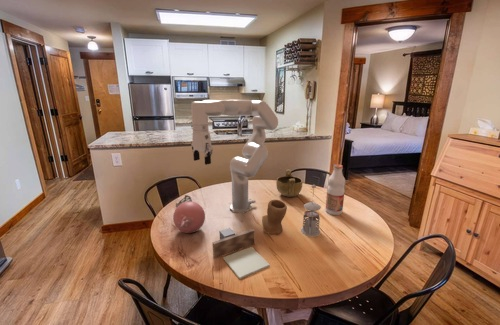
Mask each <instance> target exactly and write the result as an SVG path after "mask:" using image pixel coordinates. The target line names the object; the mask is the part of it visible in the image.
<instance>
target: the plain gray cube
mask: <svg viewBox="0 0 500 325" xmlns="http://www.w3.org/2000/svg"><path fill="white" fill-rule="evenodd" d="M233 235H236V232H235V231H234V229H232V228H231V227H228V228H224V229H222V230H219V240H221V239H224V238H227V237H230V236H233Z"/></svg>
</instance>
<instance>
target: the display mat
mask: <svg viewBox="0 0 500 325" xmlns="http://www.w3.org/2000/svg"><path fill="white" fill-rule="evenodd" d="M222 260H224V261H225V263H226V264H227V265H228V267H229V268H230V269H231V271H232V272H233V273H234V274H235V276H236V277H237V278H238V279H239V280H242V279H243V278H247V277H248V276H250V275H253V274H256V273H258V272H259V271H263V270H265V269H267V268H269V267H270V265H271V264H270V263H269V262H268V261H267V260H266V259H265V258H264V257H263V256H262V255H261V254H260V253H259V252H257V251H256V250H255V249H254V248H253V247H252V246H249V247H246V248H245V249H244V248H243V249H241V250H239V251H237V252H236V251H235V252H233V253H232V254H231V253H230V254H229V255H228V254H227V255H226V256H225V255H224V256H223V259H222Z"/></svg>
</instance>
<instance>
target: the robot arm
mask: <svg viewBox="0 0 500 325" xmlns="http://www.w3.org/2000/svg"><path fill="white" fill-rule="evenodd" d="M190 106H191V107H190V108H191V121H192V122H191V125H192V142H191V143H190V146H191V149H192V153H193V161H199V160H201V159H200V158H201V155H200V152H201V153H203V154H204V164H205V166H208V165H211V164H212V159H211V158H212V157H211V156H212V155H213V150H214V148H213V147H212V139H211V133H210V130H209V128H210V127H209V117H220V116H223V115H224V116H229V117H250V116H252V121H251V122H252V133H251V135H250V137H249V139H247V141H246V142H245V144H244V146H243V147H242V150H241V154H242V156H243V157H242V156H234V157H233V158H231V159H230V162H229V170H230V175H231V195H232V196H231V197H232V198H231V199H232V200H231V202H232V204H230V205H229V210H230V211H231V212H233V213H237V214H244V213H247V212H248V213H249V212H250V210H252V206H251V205H252V204H256V199H251V198H250V199H249V178H253V177H255V176H256V175H257V173H258V172H259V171H260V169H262V166H263V165H264V164H265V162H266V160H267V158H268V156H269V149H268V148H267V146H266V145H265V144H264V143H265V141H266V137H267V136H266V131H265V130H267V131H274V130H276V129H277V127H278V126H279V119H278V117H277V114H276V113H274V111H273V109H272V108H271V107H270V105H269V104H268V103H267V102H266V101H265V100H257V99H256V100H255V99H204V100H202V101H200V100H197V101H196V100H195V101H192V102H191V104H190Z"/></svg>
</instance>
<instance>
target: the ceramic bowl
mask: <svg viewBox="0 0 500 325" xmlns="http://www.w3.org/2000/svg"><path fill="white" fill-rule="evenodd" d="M275 183H276V190H277V192H278V193H279V194H281V195H283V196H284V197H288V198H292V197H293V198H294V197H296V196H298V195H299V194H300V193H301V191H302V189H303V179H302V178H300V177H298V176H294V175H292V169H285V175H283V176H279V177H277V179H276V182H275Z"/></svg>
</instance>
